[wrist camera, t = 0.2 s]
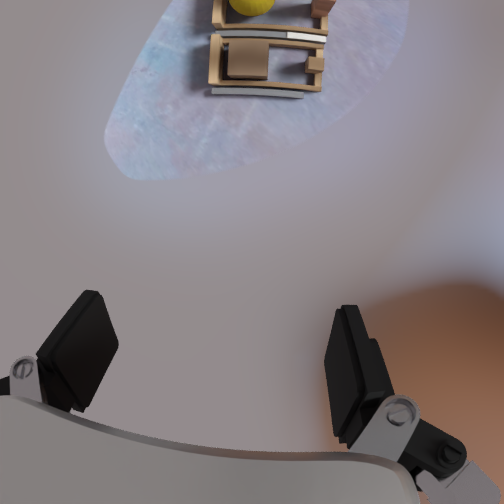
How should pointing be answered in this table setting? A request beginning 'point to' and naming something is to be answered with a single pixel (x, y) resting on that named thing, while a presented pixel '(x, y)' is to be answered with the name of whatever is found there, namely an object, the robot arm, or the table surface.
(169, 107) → the table surface
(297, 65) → the table surface
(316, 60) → the cube
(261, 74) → the walnut cube
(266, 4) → the lemon
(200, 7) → the table surface
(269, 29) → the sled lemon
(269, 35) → the lane rails
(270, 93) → the rail right
